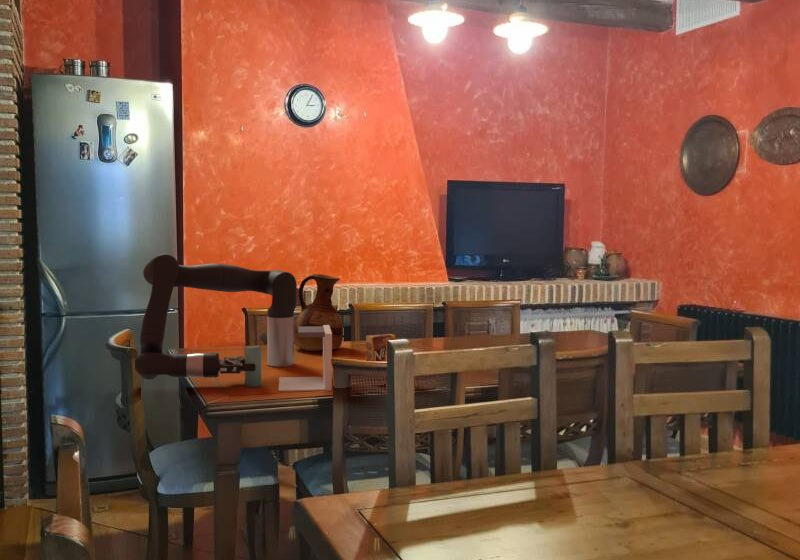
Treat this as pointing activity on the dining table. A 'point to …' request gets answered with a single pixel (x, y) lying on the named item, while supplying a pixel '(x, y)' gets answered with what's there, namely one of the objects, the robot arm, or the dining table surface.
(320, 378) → the stand
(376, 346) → the candy box
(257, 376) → the post
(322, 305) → the ceramic pitcher
